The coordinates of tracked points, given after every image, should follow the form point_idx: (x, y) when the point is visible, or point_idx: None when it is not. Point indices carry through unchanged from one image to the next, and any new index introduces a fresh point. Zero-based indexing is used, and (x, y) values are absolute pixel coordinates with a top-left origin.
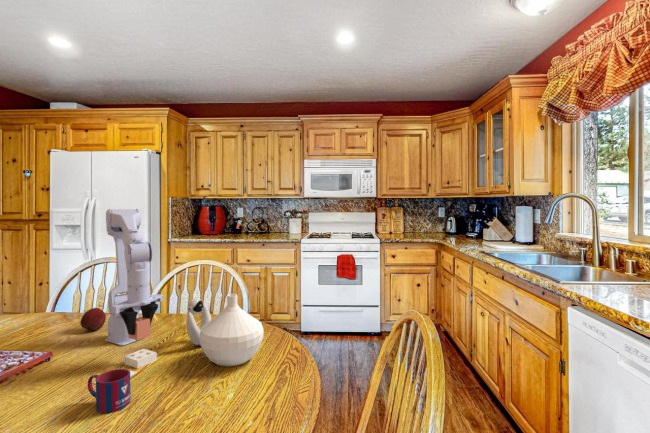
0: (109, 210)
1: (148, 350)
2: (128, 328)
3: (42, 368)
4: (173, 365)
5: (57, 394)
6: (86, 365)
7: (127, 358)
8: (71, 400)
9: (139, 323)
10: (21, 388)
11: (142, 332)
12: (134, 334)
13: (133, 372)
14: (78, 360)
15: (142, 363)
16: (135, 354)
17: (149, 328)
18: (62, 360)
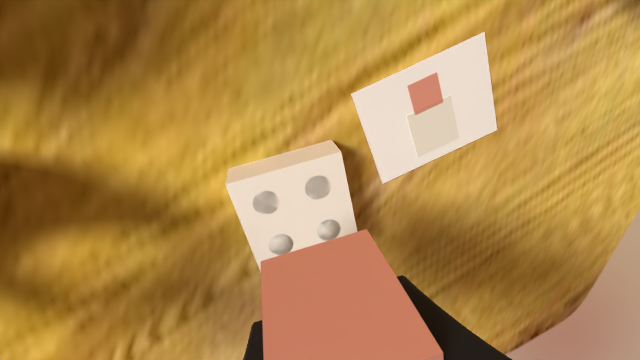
0: None
1: (250, 241)
2: None
3: (506, 332)
4: (175, 25)
5: (586, 132)
6: (435, 288)
7: (353, 221)
8: (600, 43)
9: (405, 348)
10: (593, 243)
11: (336, 275)
12: None
13: (365, 104)
14: None
15: (309, 150)
16: (316, 232)
17: (269, 308)
18: None
